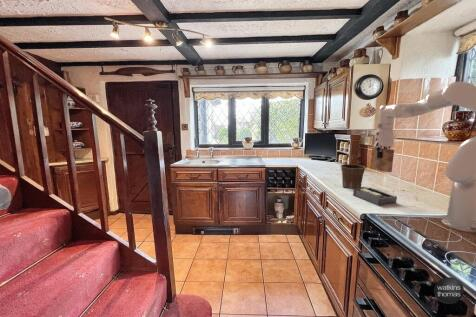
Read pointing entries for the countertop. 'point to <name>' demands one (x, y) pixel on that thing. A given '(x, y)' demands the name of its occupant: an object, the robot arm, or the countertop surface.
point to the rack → (383, 200)
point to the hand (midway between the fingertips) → (381, 157)
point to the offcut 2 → (375, 194)
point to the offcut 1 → (365, 191)
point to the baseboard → (406, 194)
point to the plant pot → (352, 175)
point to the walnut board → (382, 160)
